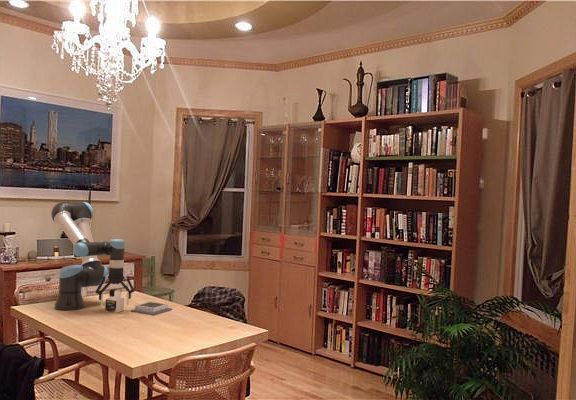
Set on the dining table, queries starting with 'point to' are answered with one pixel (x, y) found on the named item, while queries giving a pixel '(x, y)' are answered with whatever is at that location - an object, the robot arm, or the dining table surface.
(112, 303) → the medicine bottle
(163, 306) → the square holder
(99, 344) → the dining table surface
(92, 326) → the dining table surface
